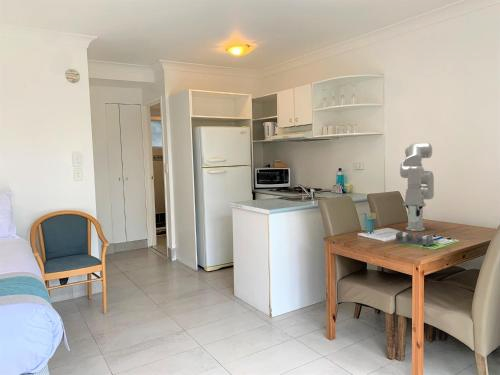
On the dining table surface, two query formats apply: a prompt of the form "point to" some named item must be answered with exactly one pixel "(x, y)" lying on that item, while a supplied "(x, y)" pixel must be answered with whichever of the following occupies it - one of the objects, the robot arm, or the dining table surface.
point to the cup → (369, 222)
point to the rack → (414, 239)
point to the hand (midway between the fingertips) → (414, 215)
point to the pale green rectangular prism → (413, 213)
